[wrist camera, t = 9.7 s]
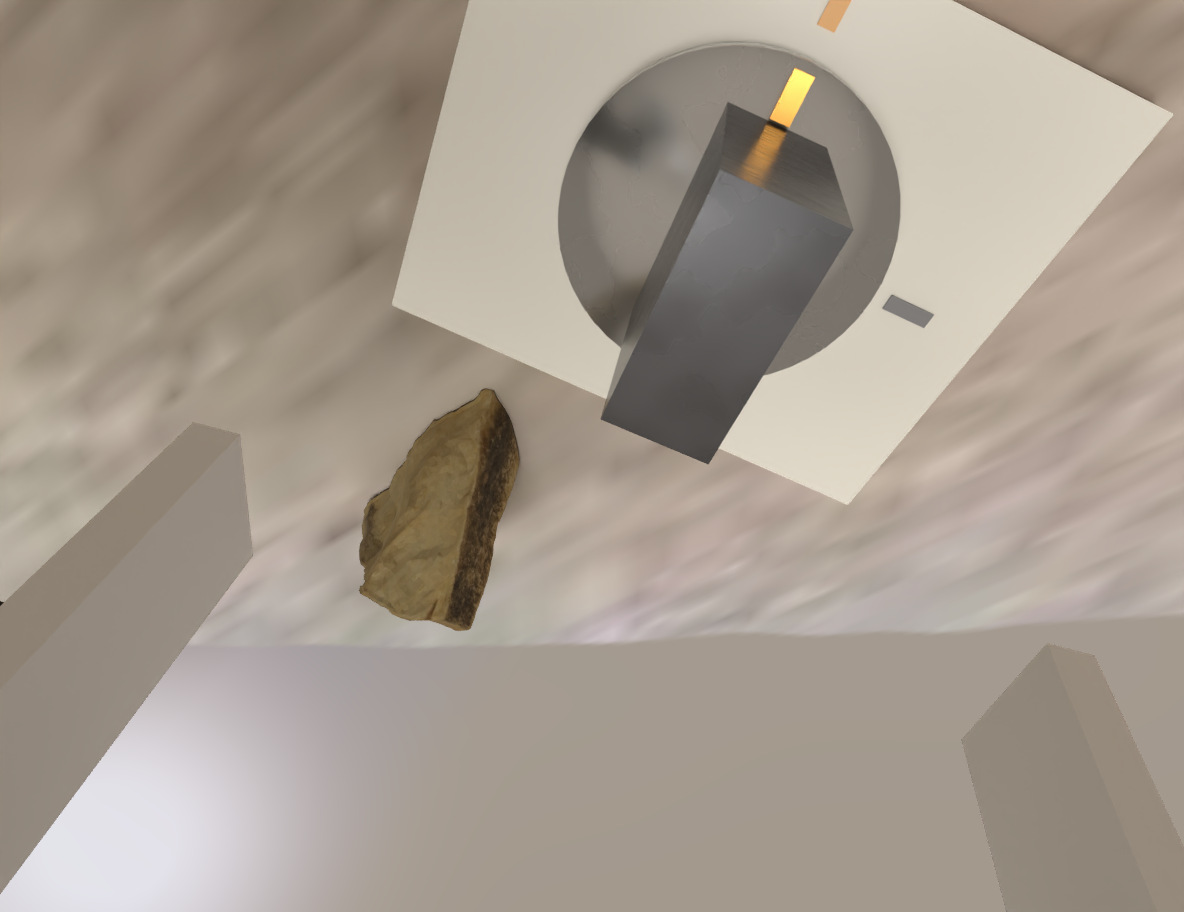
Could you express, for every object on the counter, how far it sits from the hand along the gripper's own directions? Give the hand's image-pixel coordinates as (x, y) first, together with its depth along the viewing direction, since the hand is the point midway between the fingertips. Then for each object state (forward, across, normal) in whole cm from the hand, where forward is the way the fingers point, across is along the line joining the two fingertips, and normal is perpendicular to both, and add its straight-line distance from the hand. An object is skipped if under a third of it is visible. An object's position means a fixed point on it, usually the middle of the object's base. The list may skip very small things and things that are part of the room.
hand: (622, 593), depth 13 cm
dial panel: (+21, -1, 0) cm, 21 cm away
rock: (+21, +9, +17) cm, 28 cm away
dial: (+19, -1, 0) cm, 19 cm away
